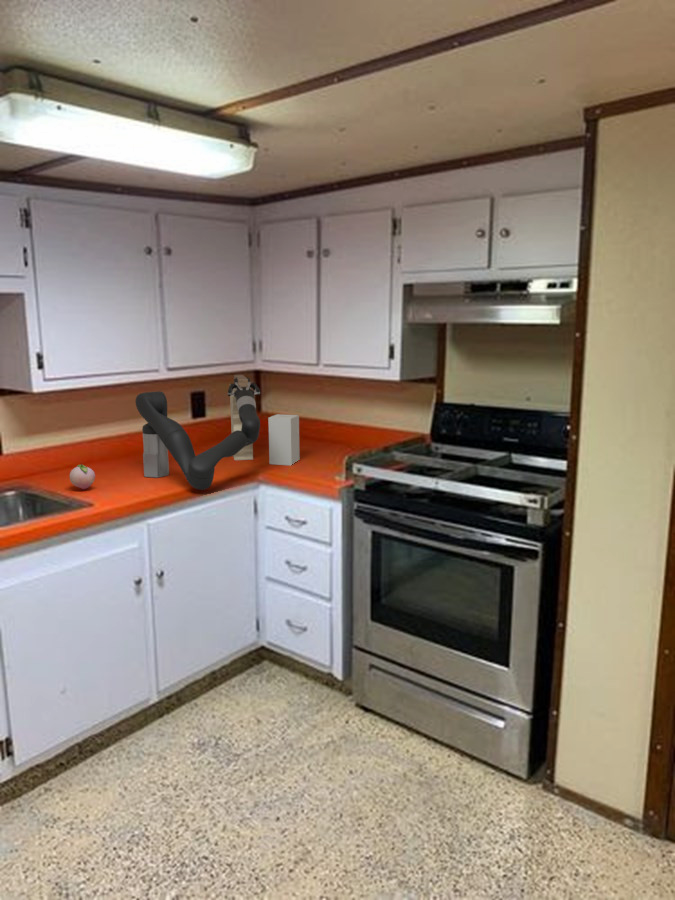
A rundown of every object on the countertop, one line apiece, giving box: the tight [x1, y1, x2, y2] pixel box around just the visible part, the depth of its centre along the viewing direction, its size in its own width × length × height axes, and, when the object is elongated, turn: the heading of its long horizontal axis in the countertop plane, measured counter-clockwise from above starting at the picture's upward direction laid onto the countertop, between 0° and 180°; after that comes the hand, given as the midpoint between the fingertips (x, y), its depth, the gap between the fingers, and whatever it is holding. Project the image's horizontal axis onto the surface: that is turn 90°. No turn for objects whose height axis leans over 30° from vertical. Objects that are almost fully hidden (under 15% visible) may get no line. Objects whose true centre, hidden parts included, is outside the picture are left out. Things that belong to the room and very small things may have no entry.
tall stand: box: [229, 388, 254, 461], centre depth 303 cm, size 12×8×32 cm, turn 13°
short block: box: [267, 413, 300, 466], centre depth 294 cm, size 10×10×20 cm
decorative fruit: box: [69, 462, 96, 491], centre depth 251 cm, size 9×8×10 cm
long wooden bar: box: [233, 374, 248, 387], centre depth 296 cm, size 21×4×4 cm, turn 13°
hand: (241, 379), depth 292 cm, fingers closed on long wooden bar, 4 cm apart
